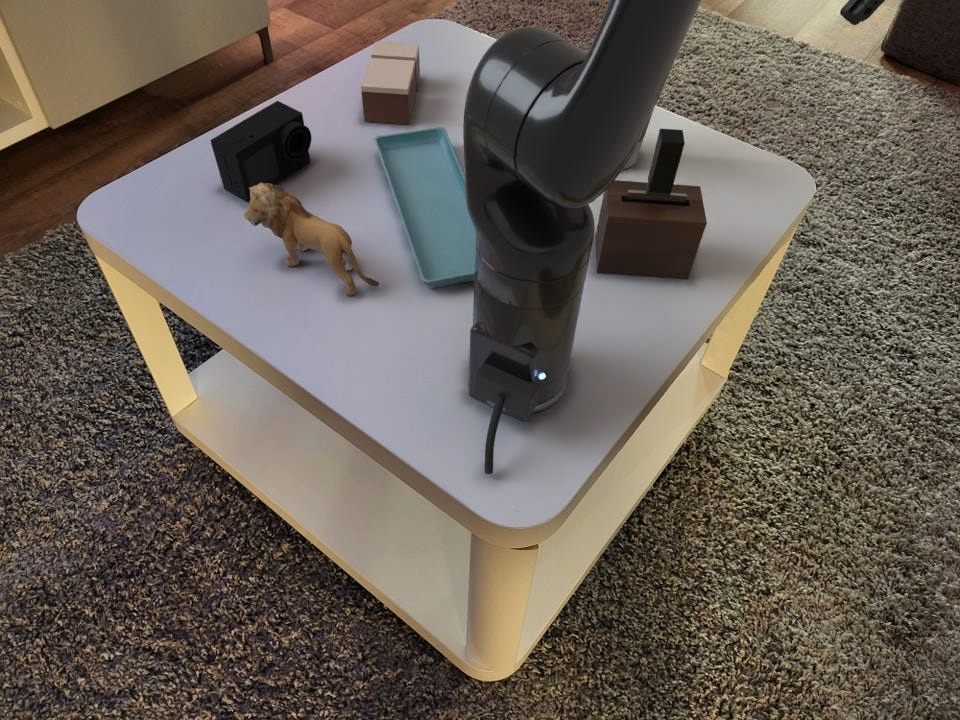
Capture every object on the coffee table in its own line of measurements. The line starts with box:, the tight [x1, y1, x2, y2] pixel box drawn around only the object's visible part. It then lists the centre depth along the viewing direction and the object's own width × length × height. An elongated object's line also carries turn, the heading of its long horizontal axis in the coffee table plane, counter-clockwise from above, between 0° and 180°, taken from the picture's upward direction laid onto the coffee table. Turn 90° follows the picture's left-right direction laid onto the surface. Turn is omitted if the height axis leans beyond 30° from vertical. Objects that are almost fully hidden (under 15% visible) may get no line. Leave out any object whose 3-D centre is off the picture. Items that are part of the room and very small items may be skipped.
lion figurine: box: [243, 183, 380, 296], centre depth 79 cm, size 15×5×9 cm, turn 66°
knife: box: [626, 128, 687, 206], centre depth 79 cm, size 2×6×16 cm, turn 86°
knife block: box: [594, 179, 708, 280], centre depth 82 cm, size 6×10×8 cm, turn 86°
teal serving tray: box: [373, 126, 476, 289], centre depth 88 cm, size 26×9×2 cm, turn 16°
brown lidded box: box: [360, 57, 417, 126], centre depth 100 cm, size 7×6×5 cm
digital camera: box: [210, 100, 312, 203], centre depth 89 cm, size 10×5×7 cm, turn 144°
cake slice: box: [370, 41, 421, 94], centre depth 104 cm, size 4×6×5 cm, turn 86°
